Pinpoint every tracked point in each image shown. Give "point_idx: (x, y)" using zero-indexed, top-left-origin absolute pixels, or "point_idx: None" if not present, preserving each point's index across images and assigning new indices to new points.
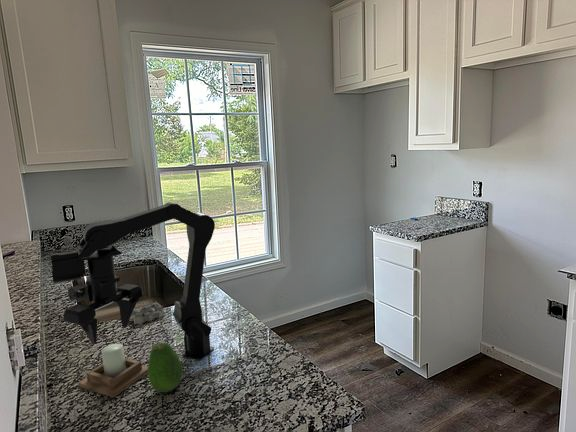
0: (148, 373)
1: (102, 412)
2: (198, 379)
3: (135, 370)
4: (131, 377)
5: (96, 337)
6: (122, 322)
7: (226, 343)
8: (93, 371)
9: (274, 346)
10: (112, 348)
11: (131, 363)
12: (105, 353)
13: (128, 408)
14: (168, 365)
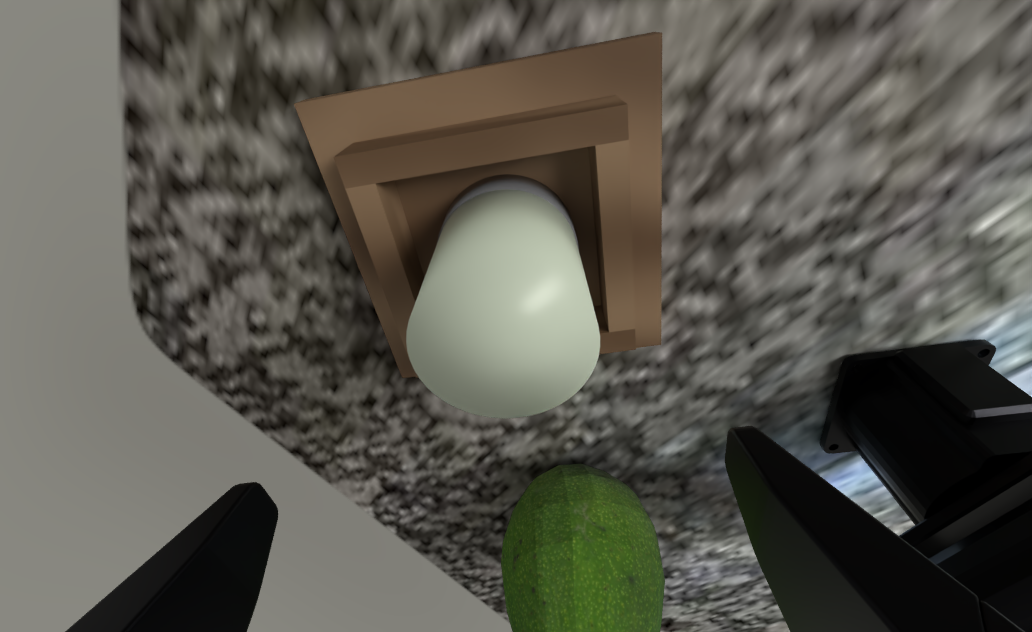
0: (511, 556)
1: (330, 404)
2: (678, 511)
3: None
4: None
5: (243, 620)
6: (759, 497)
7: None
8: (381, 182)
9: None
10: (507, 344)
11: (605, 294)
12: (418, 370)
13: (413, 454)
14: None
